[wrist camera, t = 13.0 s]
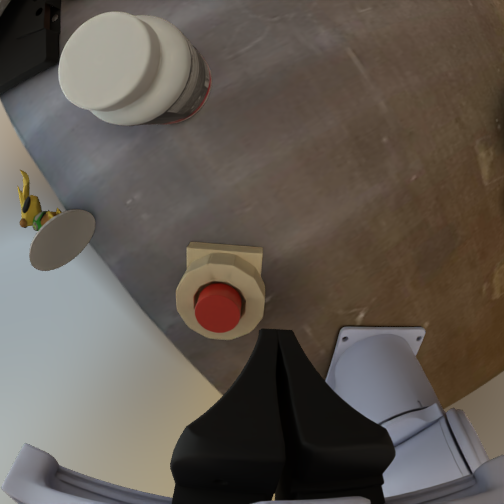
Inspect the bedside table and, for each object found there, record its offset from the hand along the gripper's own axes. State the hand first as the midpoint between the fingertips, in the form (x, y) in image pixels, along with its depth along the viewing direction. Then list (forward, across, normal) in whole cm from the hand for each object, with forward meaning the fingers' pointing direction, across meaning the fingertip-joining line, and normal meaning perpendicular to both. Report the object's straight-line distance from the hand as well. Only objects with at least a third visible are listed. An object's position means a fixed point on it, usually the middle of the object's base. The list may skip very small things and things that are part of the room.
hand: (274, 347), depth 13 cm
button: (+7, +3, +2) cm, 8 cm away
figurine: (+7, +14, -1) cm, 16 cm away
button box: (+10, +3, +2) cm, 10 cm away
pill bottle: (+10, +7, -11) cm, 17 cm away
